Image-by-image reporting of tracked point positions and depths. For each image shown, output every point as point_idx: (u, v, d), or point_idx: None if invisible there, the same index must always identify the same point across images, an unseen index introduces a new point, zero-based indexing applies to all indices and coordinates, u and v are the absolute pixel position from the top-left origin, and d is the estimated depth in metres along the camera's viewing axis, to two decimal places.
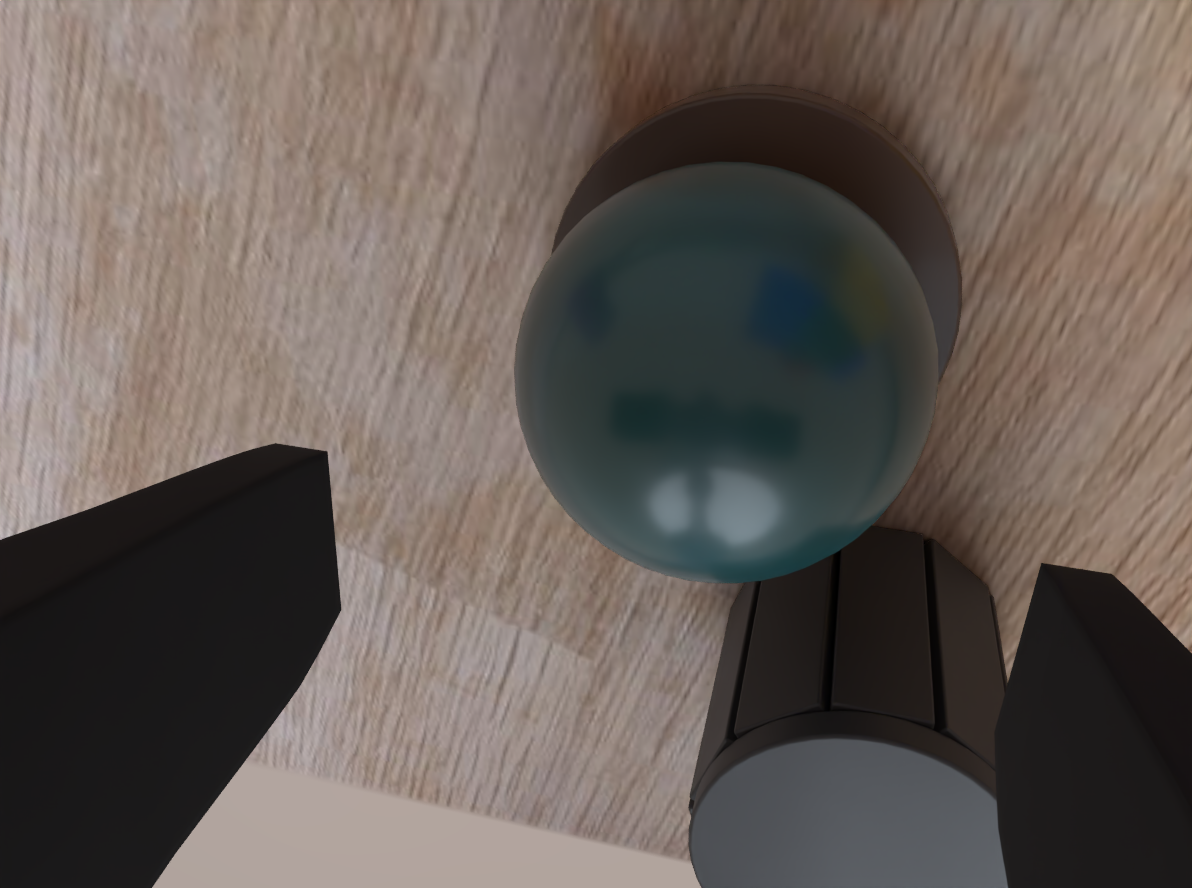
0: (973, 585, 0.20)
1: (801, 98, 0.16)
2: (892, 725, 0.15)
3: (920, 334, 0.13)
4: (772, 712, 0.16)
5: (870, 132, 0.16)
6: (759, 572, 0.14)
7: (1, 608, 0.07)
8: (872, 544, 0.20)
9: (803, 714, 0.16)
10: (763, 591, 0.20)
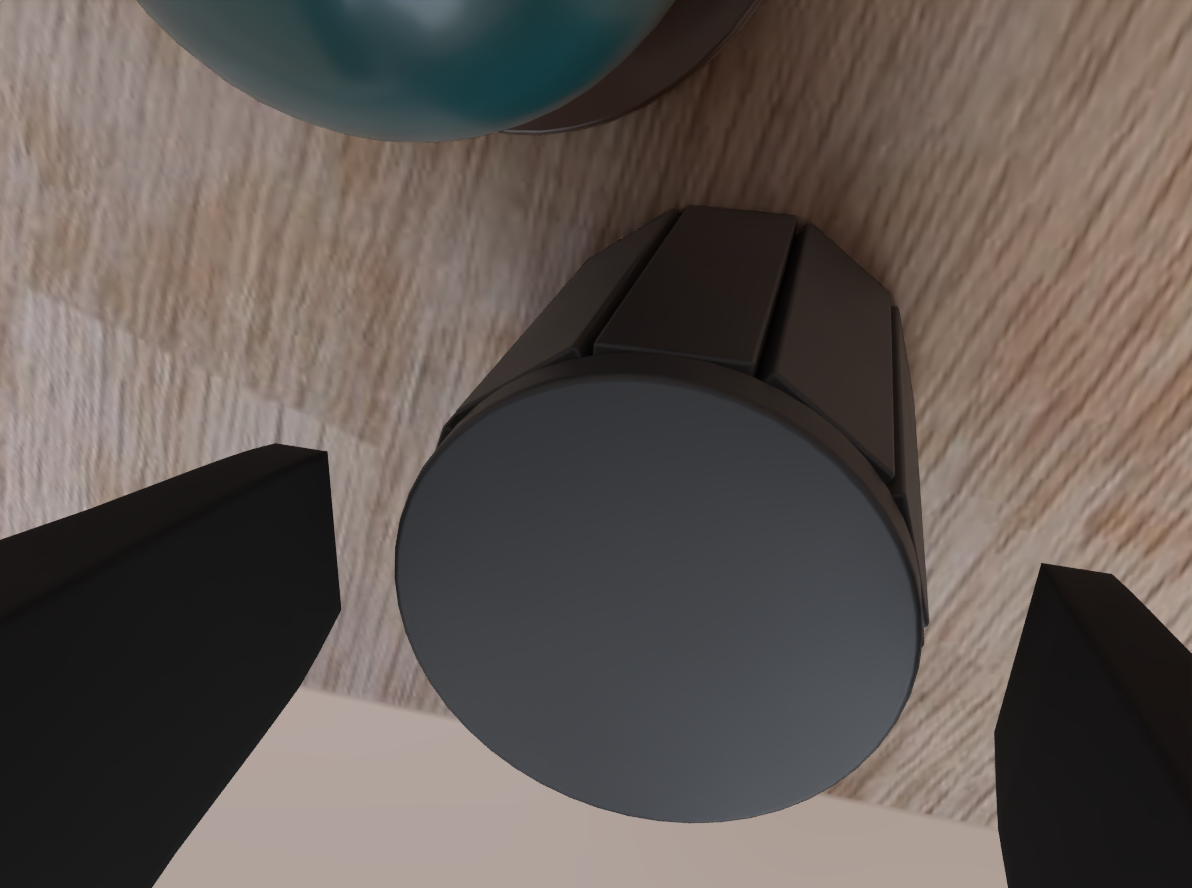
0: (866, 281, 0.14)
1: None
2: (683, 364, 0.09)
3: None
4: (512, 376, 0.10)
5: None
6: (420, 41, 0.08)
7: (1, 608, 0.07)
8: (720, 221, 0.14)
9: (552, 368, 0.10)
10: (565, 290, 0.14)
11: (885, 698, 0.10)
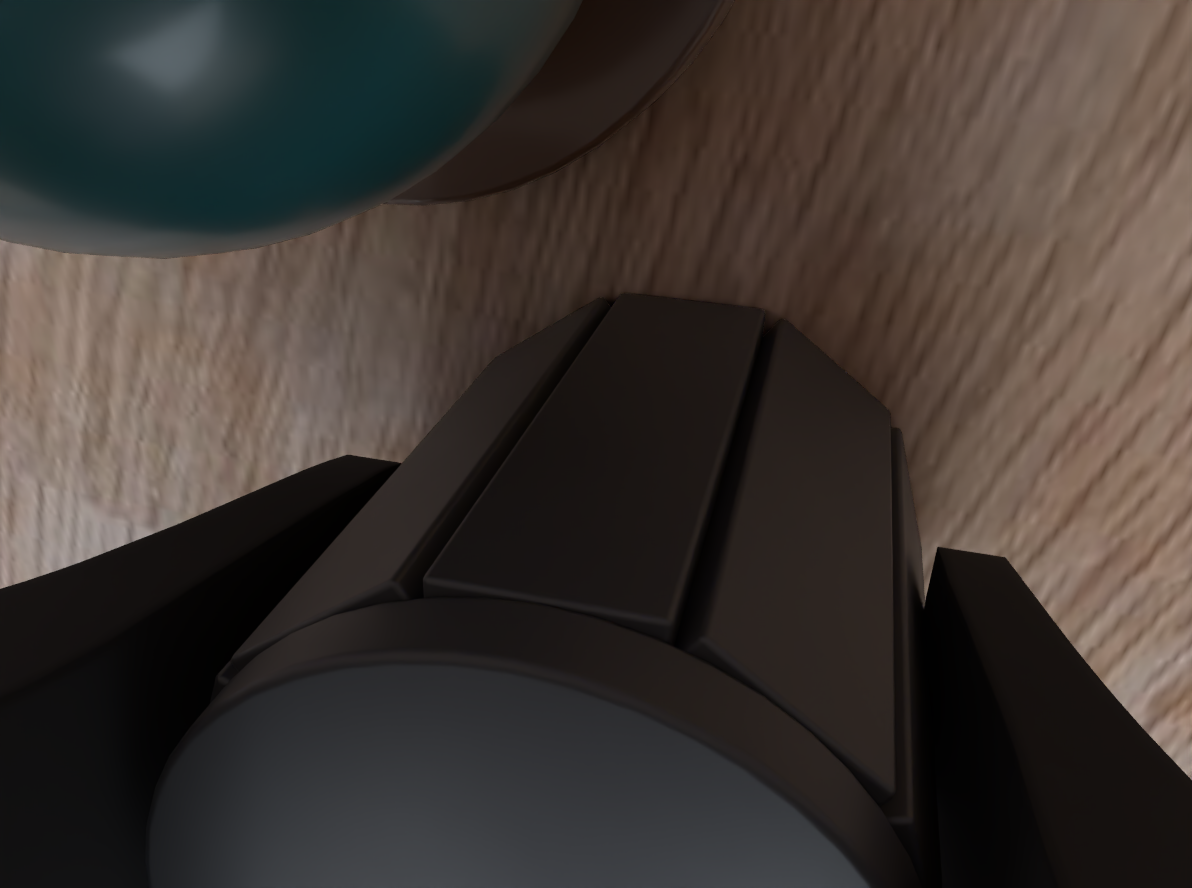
0: (858, 401, 0.10)
1: None
2: (554, 629, 0.06)
3: None
4: (311, 611, 0.07)
5: None
6: (59, 127, 0.05)
7: (109, 630, 0.07)
8: (661, 320, 0.10)
9: (360, 611, 0.06)
10: (452, 412, 0.10)
11: None
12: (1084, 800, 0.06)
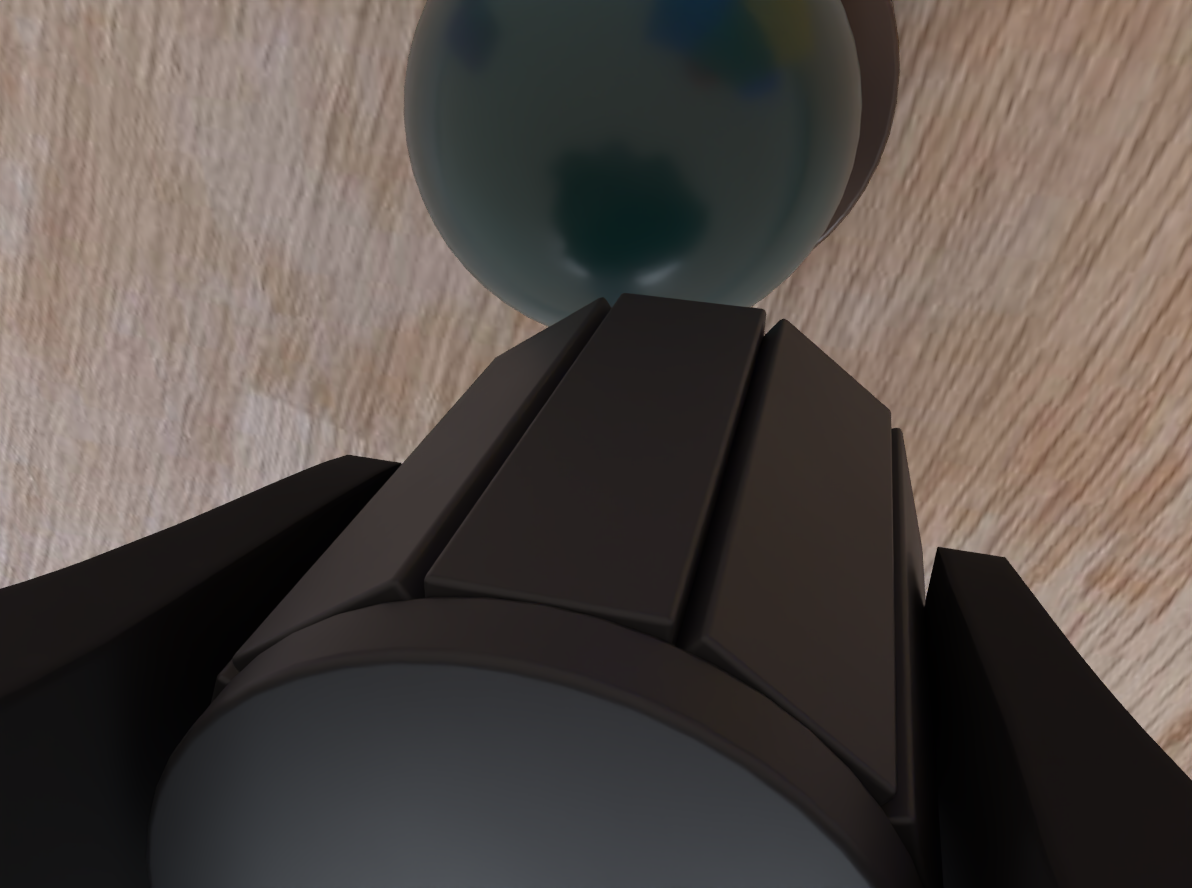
0: (858, 400, 0.10)
1: None
2: (555, 629, 0.06)
3: (835, 34, 0.12)
4: (312, 611, 0.07)
5: None
6: None
7: (109, 630, 0.07)
8: (662, 320, 0.10)
9: (363, 611, 0.06)
10: None
11: None
12: (1084, 800, 0.06)
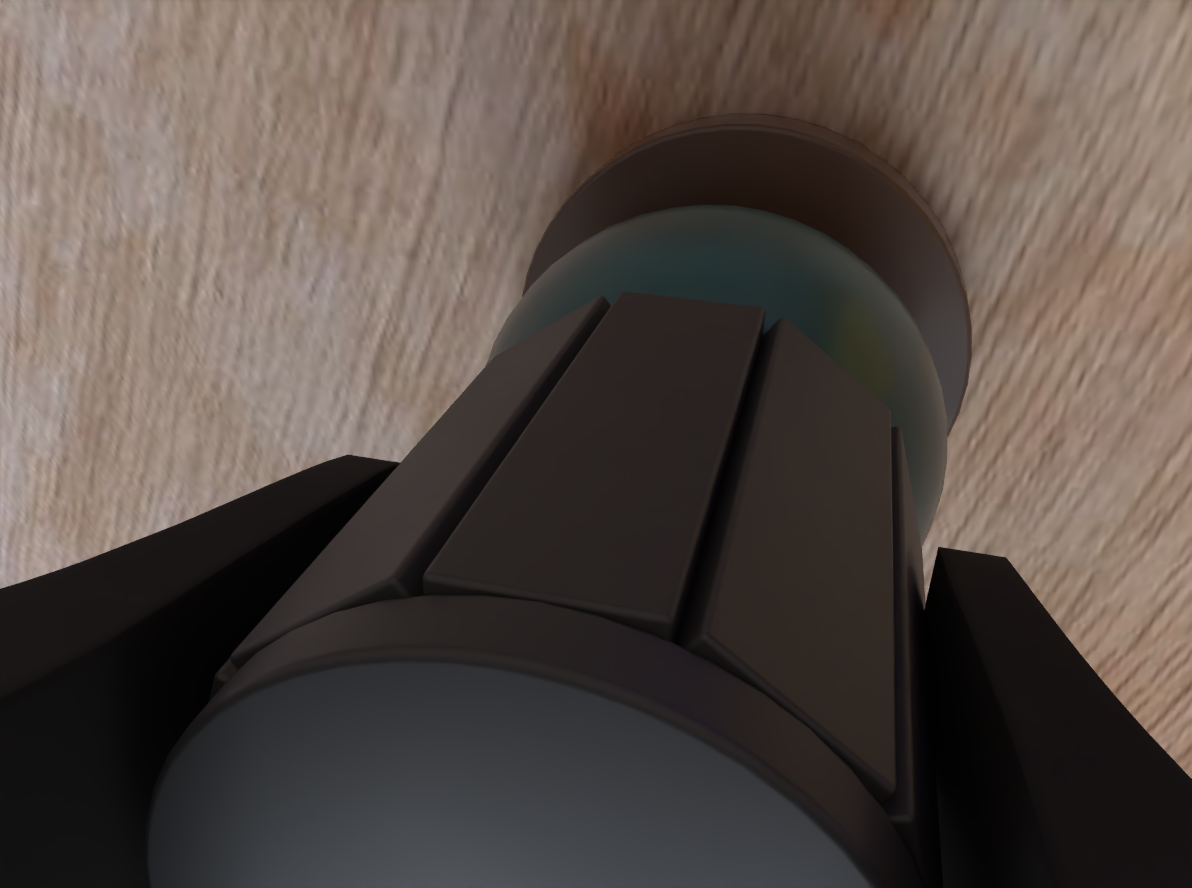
0: (858, 399, 0.10)
1: (794, 130, 0.15)
2: (554, 626, 0.06)
3: (928, 404, 0.12)
4: (311, 609, 0.07)
5: (870, 168, 0.15)
6: None
7: (109, 630, 0.07)
8: (660, 318, 0.10)
9: (361, 608, 0.06)
10: None
11: None
12: (1086, 800, 0.06)
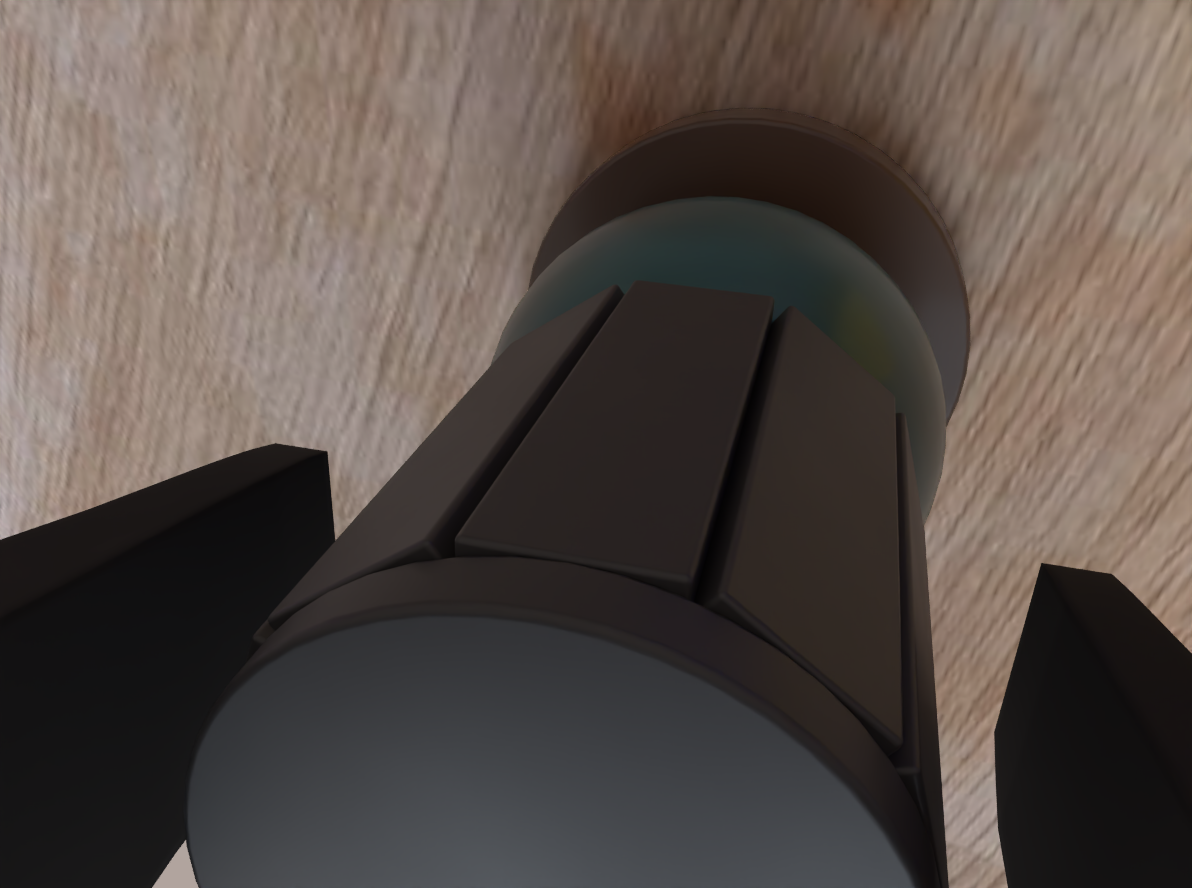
0: (864, 385, 0.11)
1: (796, 124, 0.15)
2: (581, 584, 0.06)
3: (927, 391, 0.12)
4: (345, 572, 0.07)
5: (871, 161, 0.15)
6: None
7: (2, 608, 0.07)
8: (674, 305, 0.10)
9: (395, 570, 0.07)
10: None
11: None
12: None
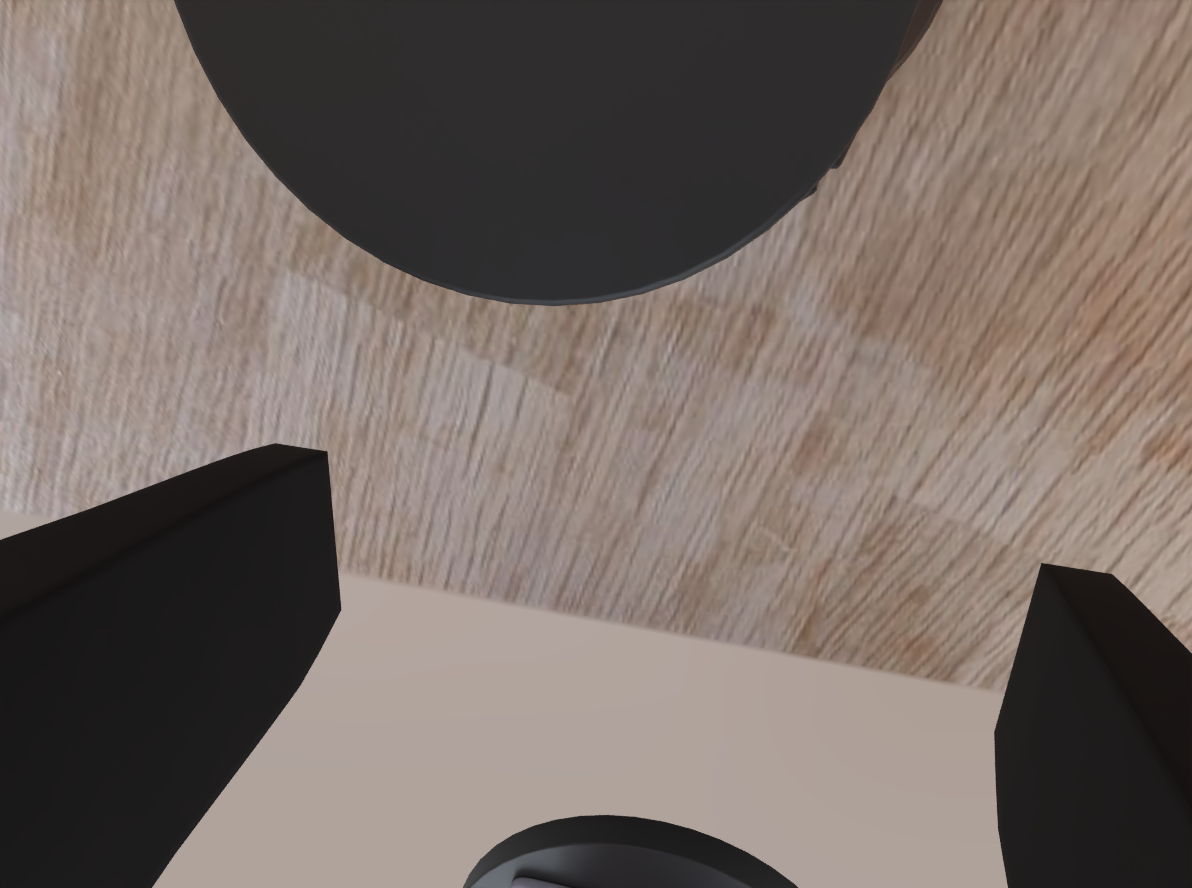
0: None
1: None
2: None
3: None
4: None
5: None
6: None
7: (1, 608, 0.07)
8: None
9: None
10: None
11: (881, 2, 0.06)
12: None
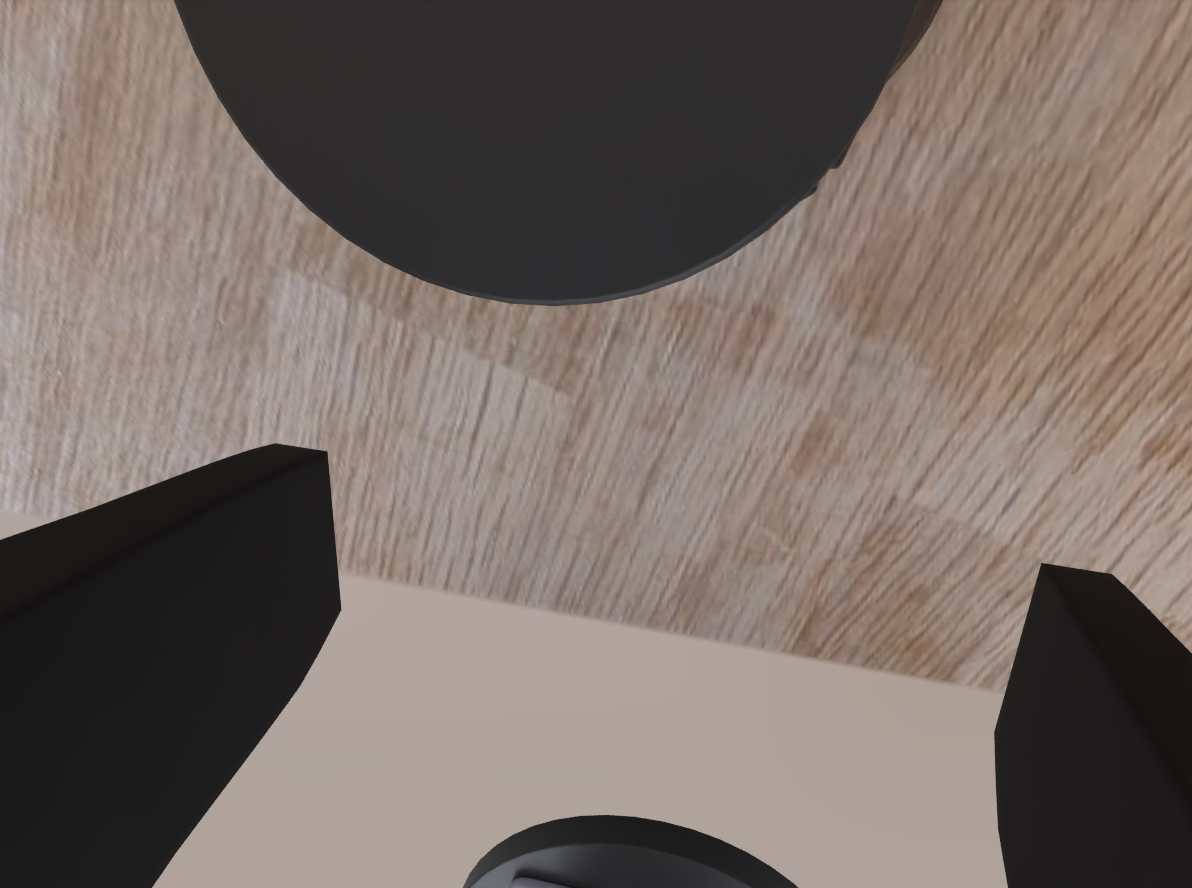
0: None
1: None
2: None
3: None
4: None
5: None
6: None
7: (1, 608, 0.07)
8: None
9: None
10: None
11: (881, 2, 0.06)
12: None
